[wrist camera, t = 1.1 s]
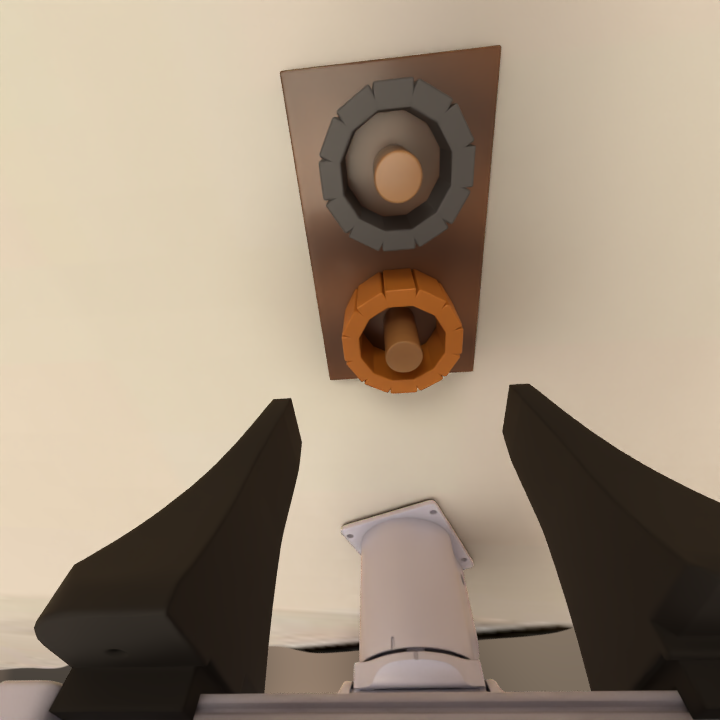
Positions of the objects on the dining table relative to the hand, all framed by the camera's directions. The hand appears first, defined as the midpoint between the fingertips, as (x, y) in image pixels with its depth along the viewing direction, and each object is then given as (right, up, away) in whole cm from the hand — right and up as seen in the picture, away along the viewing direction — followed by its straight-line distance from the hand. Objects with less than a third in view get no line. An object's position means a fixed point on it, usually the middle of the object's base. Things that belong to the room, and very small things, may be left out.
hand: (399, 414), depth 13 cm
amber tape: (+1, +4, +6) cm, 8 cm away
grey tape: (0, +10, +3) cm, 10 cm away
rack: (0, +7, +5) cm, 9 cm away
